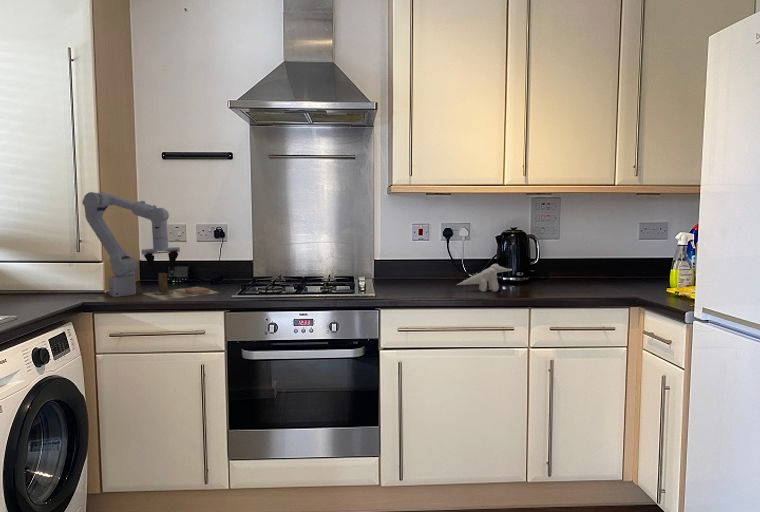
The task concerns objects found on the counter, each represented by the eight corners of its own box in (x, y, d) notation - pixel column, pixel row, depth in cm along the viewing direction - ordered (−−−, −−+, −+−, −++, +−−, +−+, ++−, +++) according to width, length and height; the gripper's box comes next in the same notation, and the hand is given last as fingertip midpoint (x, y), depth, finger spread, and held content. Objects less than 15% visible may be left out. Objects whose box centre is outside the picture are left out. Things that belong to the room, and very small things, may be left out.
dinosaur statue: (516, 289, 215) (514, 262, 214) (458, 296, 214) (456, 269, 213) (511, 287, 222) (508, 261, 221) (455, 294, 221) (452, 267, 220)
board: (161, 302, 201) (161, 300, 201) (141, 295, 217) (141, 293, 217) (220, 294, 217) (220, 292, 217) (197, 288, 233) (197, 286, 233)
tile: (185, 292, 218) (193, 295, 212) (185, 289, 217) (193, 291, 212) (201, 290, 222) (209, 292, 216) (201, 287, 222) (209, 289, 216)
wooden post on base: (158, 295, 211) (157, 274, 211) (153, 294, 215) (152, 273, 214) (173, 293, 215) (172, 273, 215) (168, 292, 219) (167, 272, 218)
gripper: (145, 239, 206) (147, 273, 207) (181, 237, 216) (183, 269, 217) (139, 238, 211) (141, 272, 213) (175, 236, 221) (177, 268, 222)
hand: (162, 270), depth 215 cm, fingers open, 7 cm apart
